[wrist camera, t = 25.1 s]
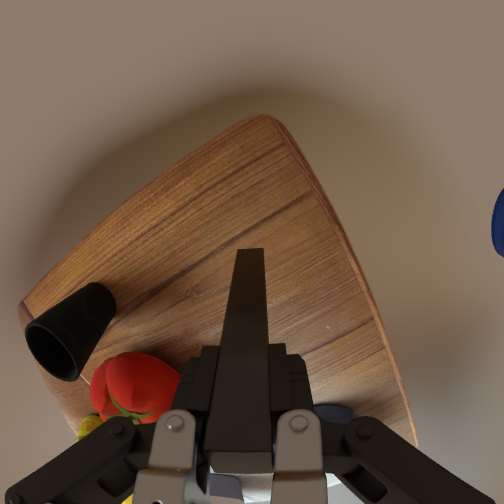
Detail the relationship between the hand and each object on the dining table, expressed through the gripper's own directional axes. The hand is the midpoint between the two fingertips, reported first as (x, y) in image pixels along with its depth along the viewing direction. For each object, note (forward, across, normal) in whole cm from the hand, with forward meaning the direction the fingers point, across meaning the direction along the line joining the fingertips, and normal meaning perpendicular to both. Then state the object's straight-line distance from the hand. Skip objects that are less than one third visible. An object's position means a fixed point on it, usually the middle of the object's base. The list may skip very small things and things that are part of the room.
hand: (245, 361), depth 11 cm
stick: (+11, 0, 0) cm, 11 cm away
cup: (+19, +21, +7) cm, 29 cm away
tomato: (+19, +17, +20) cm, 32 cm away
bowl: (+19, +13, +61) cm, 65 cm away
